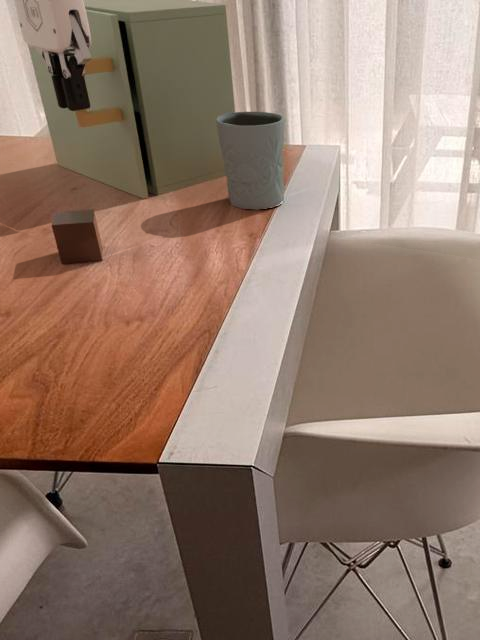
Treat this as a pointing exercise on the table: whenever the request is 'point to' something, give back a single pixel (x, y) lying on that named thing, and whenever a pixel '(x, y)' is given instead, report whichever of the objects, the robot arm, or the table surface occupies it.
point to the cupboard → (176, 85)
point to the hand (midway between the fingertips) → (74, 107)
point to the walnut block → (77, 236)
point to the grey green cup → (253, 158)
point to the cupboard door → (97, 114)
